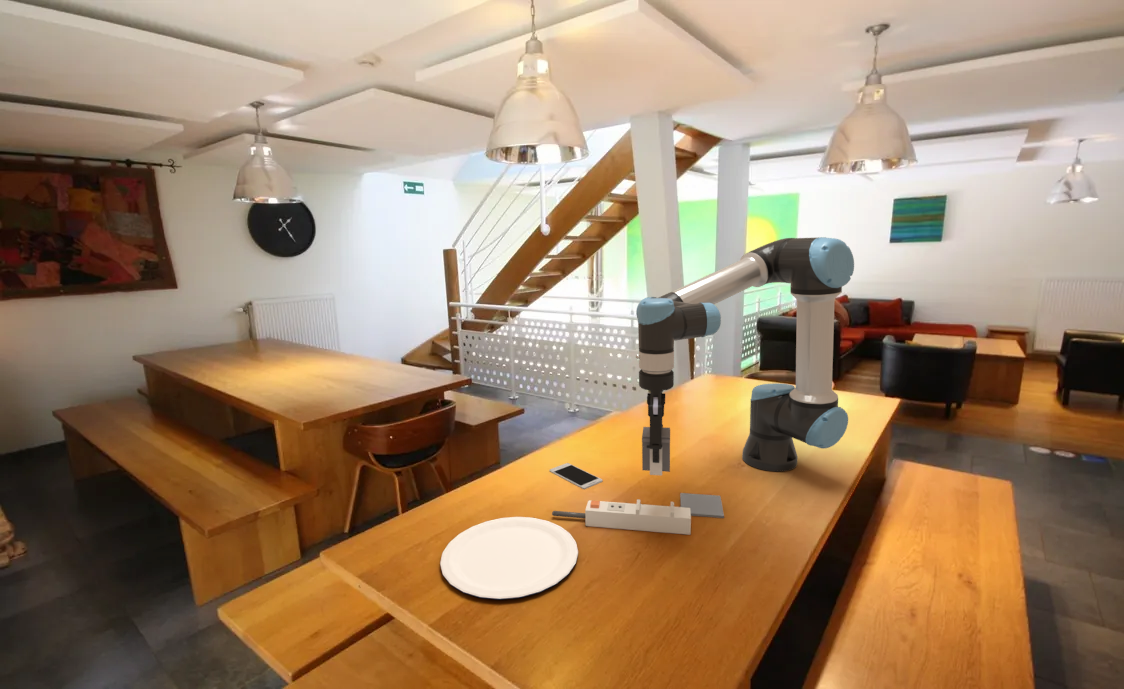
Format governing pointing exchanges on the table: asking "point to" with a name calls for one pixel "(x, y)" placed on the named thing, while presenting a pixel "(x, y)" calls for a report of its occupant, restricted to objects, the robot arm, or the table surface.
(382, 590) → the table surface
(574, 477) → the smartphone
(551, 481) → the table surface
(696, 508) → the mat
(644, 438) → the grey block
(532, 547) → the plate
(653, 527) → the power strip
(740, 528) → the table surface
